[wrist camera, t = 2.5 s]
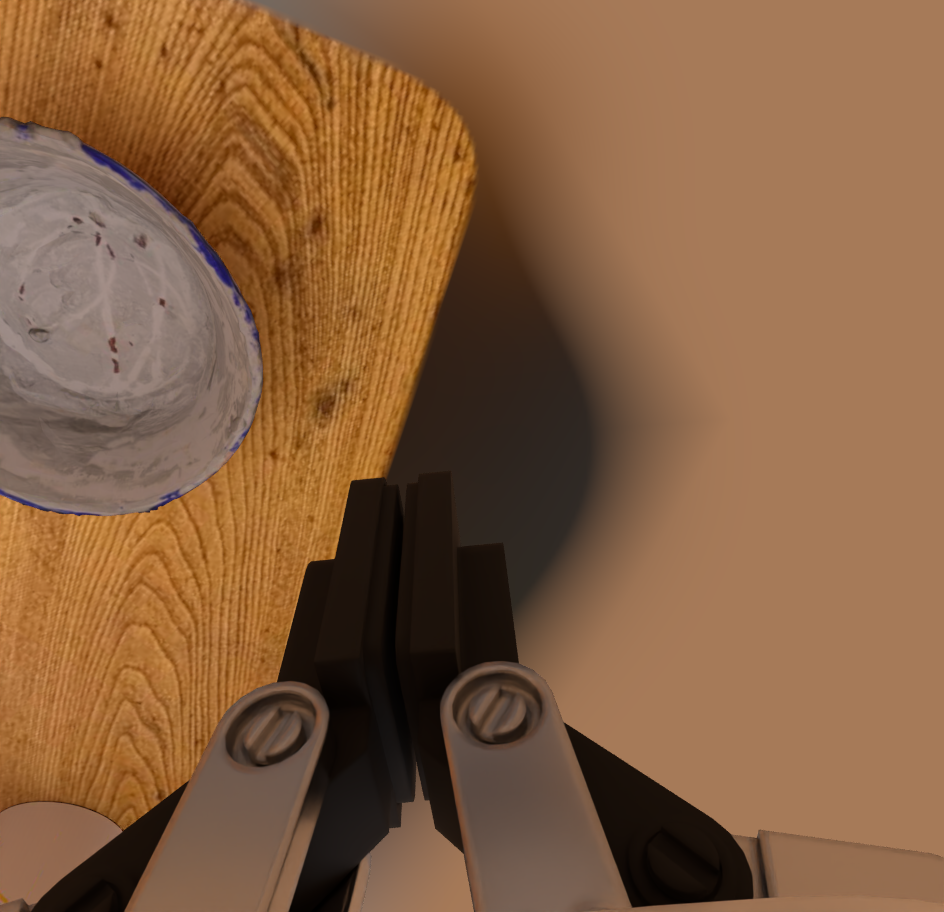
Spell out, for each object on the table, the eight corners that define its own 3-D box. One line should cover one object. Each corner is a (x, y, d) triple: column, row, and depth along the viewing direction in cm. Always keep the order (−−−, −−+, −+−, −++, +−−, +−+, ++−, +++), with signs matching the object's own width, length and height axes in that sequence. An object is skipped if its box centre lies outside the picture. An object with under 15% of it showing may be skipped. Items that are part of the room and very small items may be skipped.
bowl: (-152, 303, 25) (-270, 355, 21) (21, 7, 21) (-83, -2, 16) (161, 504, 30) (118, 578, 26) (353, 301, 26) (337, 350, 22)
